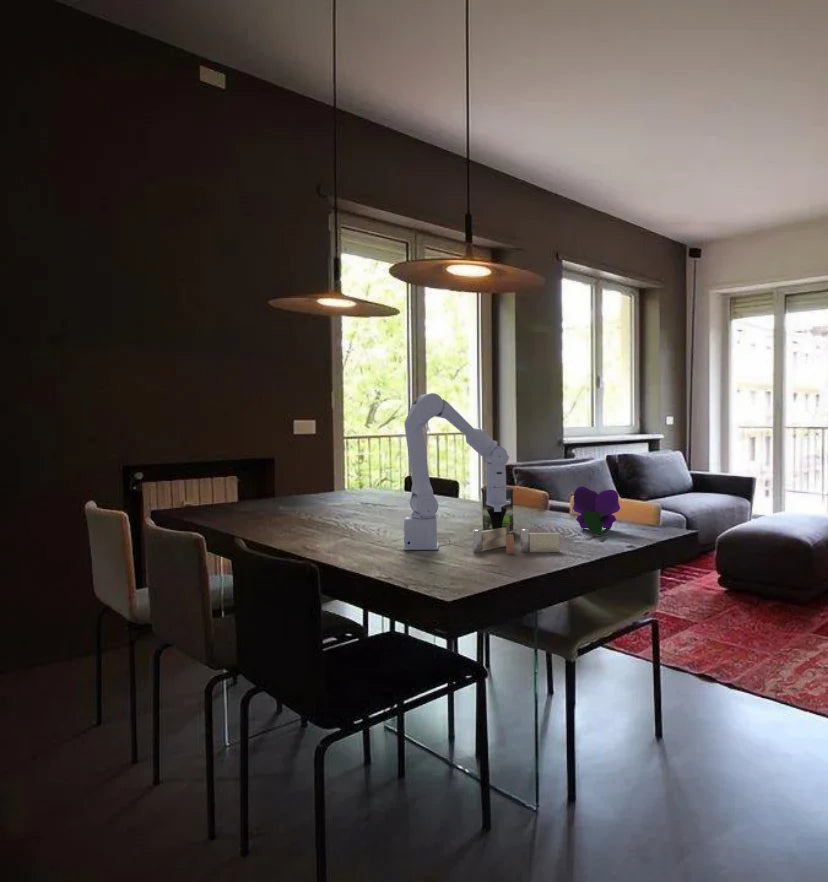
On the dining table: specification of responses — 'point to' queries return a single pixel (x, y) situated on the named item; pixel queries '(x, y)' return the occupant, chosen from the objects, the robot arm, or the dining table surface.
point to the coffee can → (509, 507)
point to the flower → (596, 509)
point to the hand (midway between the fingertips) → (497, 532)
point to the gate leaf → (494, 538)
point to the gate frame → (524, 541)
